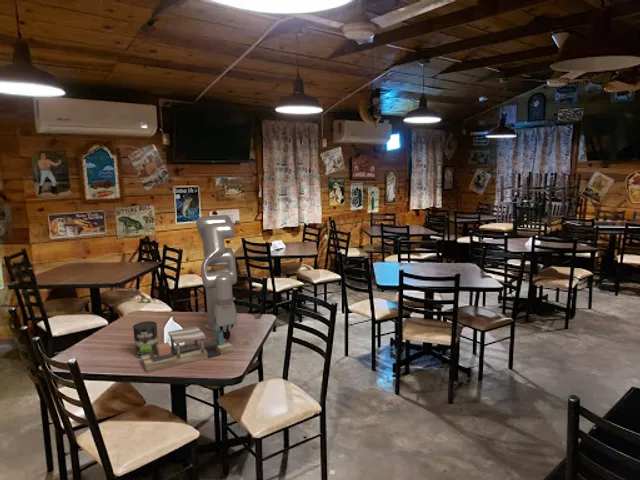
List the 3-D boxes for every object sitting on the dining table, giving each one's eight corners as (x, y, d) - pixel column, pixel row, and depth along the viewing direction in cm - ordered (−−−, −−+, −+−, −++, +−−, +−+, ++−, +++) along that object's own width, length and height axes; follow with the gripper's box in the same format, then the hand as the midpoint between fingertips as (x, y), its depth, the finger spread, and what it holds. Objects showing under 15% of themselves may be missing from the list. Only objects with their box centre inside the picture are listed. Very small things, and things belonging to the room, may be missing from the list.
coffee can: (158, 356, 207) (155, 327, 205) (134, 359, 204) (131, 329, 202) (160, 348, 217) (157, 320, 214) (137, 351, 214) (134, 322, 212)
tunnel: (141, 361, 202) (139, 337, 200) (223, 343, 221) (222, 321, 219) (147, 373, 190) (144, 348, 188) (233, 352, 209) (232, 329, 207)
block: (157, 355, 200) (156, 344, 200) (168, 352, 203) (168, 342, 202) (159, 359, 196) (158, 348, 195) (171, 356, 199) (170, 345, 198)
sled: (149, 354, 200) (148, 342, 199) (218, 339, 216) (217, 327, 215) (153, 361, 193) (152, 348, 192) (224, 345, 209) (223, 333, 208)
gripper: (236, 296, 218) (238, 333, 221) (206, 302, 210) (209, 339, 213) (242, 300, 211) (244, 337, 214) (211, 306, 204) (214, 344, 207)
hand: (226, 338), depth 214 cm, fingers closed
